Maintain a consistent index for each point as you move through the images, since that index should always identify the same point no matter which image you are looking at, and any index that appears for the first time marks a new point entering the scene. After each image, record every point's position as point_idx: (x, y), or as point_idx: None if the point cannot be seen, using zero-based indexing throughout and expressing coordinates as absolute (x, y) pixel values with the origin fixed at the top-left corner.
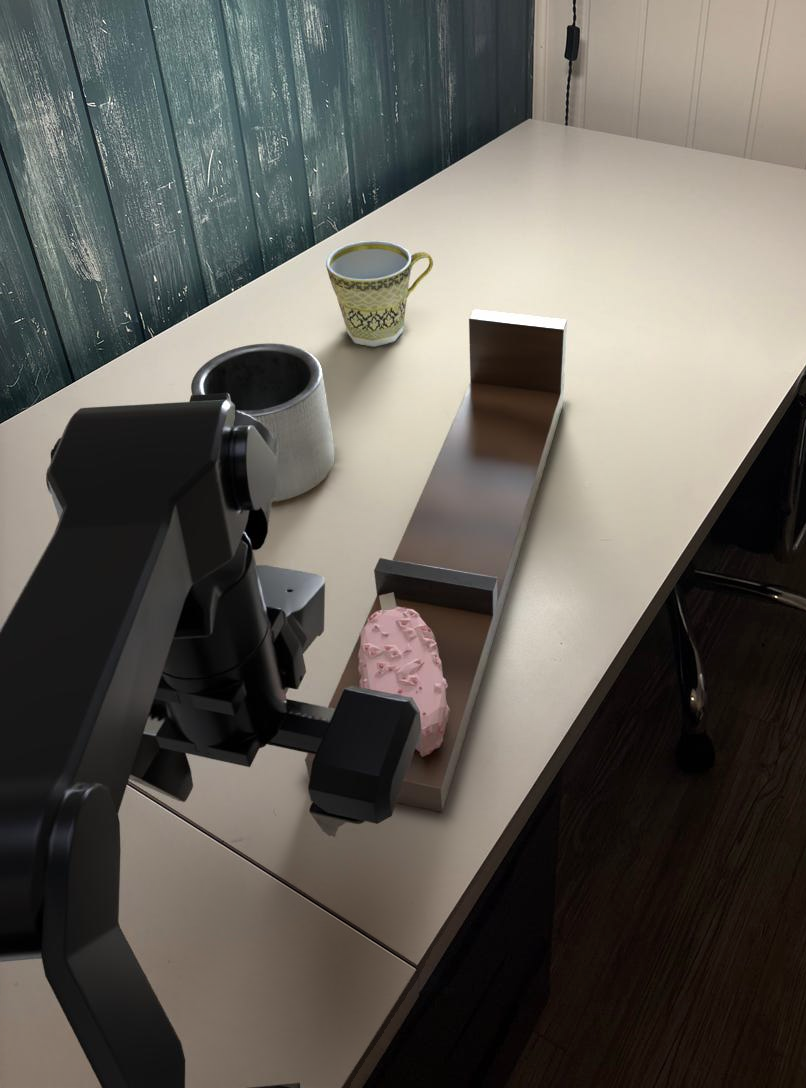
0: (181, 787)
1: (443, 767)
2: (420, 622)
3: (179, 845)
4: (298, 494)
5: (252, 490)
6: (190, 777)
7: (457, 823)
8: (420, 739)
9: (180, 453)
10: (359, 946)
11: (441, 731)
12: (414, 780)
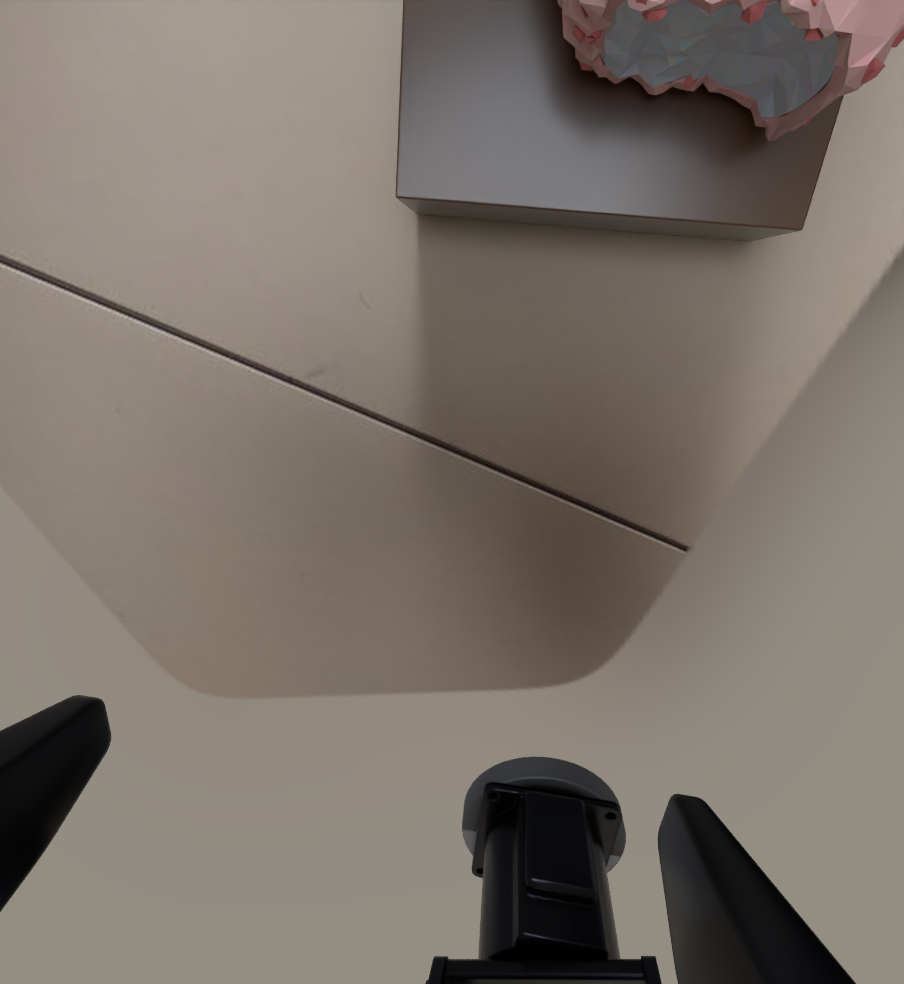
0: (40, 820)
1: (816, 149)
2: None
3: (217, 397)
4: None
5: None
6: (52, 743)
7: (786, 264)
8: (820, 108)
9: None
10: (593, 532)
11: (902, 37)
12: (721, 213)
